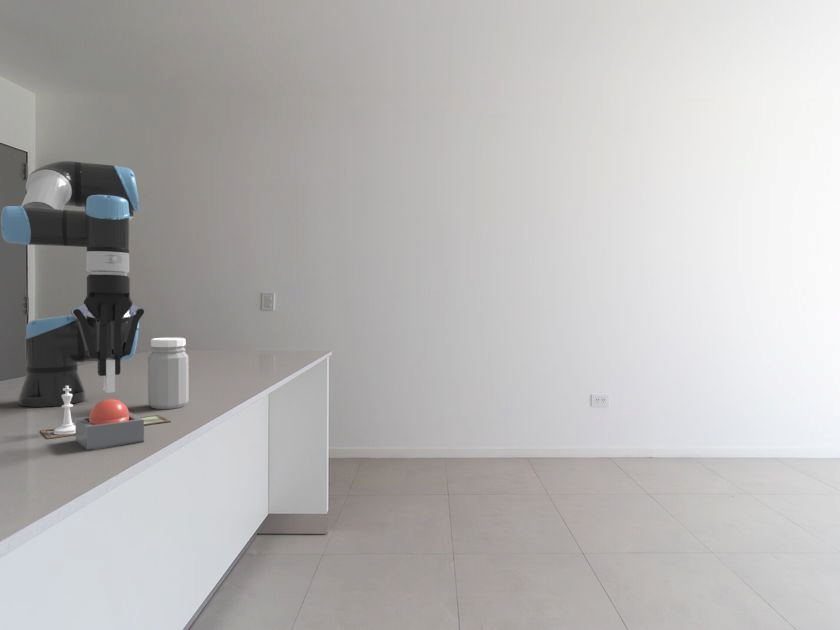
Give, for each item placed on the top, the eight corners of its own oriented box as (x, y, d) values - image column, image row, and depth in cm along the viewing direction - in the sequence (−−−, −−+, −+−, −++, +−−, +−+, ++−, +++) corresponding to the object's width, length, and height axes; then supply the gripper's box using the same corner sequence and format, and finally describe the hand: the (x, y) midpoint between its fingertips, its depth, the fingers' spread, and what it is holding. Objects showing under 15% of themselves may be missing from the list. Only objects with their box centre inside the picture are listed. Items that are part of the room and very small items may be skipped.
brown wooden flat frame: (40, 431, 120) (40, 430, 120) (158, 415, 136) (158, 414, 136) (47, 439, 114) (47, 438, 114) (170, 421, 130) (170, 421, 130)
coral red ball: (85, 433, 113) (85, 398, 113) (123, 428, 118) (123, 394, 117) (94, 440, 108) (93, 404, 107) (133, 434, 112) (133, 399, 112)
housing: (75, 440, 113) (75, 418, 113) (129, 432, 120) (129, 411, 120) (87, 450, 106) (87, 427, 105) (143, 441, 112) (143, 419, 112)
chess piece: (67, 435, 117) (67, 388, 117) (48, 434, 118) (47, 387, 118) (86, 430, 122) (85, 384, 121) (67, 428, 123) (66, 383, 122)
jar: (140, 409, 144) (139, 339, 143) (162, 402, 154) (161, 336, 153) (175, 410, 143) (175, 340, 142) (195, 403, 153) (195, 337, 152)
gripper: (74, 272, 104) (76, 397, 105) (149, 274, 113) (149, 390, 114) (66, 273, 110) (67, 392, 111) (137, 275, 119) (138, 386, 119)
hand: (109, 391), depth 112 cm, fingers closed
